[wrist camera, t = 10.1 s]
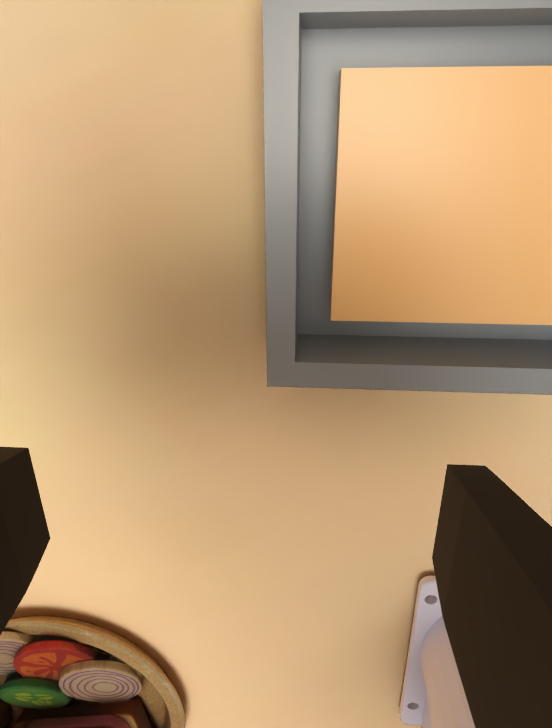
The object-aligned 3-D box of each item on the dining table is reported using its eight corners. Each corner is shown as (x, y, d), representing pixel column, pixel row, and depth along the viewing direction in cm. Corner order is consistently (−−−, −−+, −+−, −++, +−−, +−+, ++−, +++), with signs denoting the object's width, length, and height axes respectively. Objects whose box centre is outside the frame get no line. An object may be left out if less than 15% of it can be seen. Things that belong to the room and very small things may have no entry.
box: (574, 354, 17) (622, 396, 15) (275, 346, 18) (267, 386, 15) (668, -10, 13) (759, -44, 10) (272, -1, 14) (262, -32, 11)
